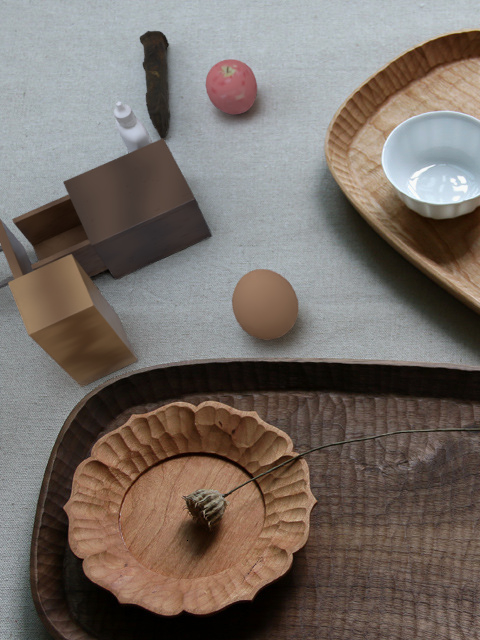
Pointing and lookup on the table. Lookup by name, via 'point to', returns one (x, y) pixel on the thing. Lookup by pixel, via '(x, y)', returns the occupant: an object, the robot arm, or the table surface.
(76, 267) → the block
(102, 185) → the cabinet
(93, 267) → the drawer
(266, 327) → the egg
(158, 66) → the hand tool
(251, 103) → the apple
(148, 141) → the eye dropper bottle
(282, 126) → the table surface
